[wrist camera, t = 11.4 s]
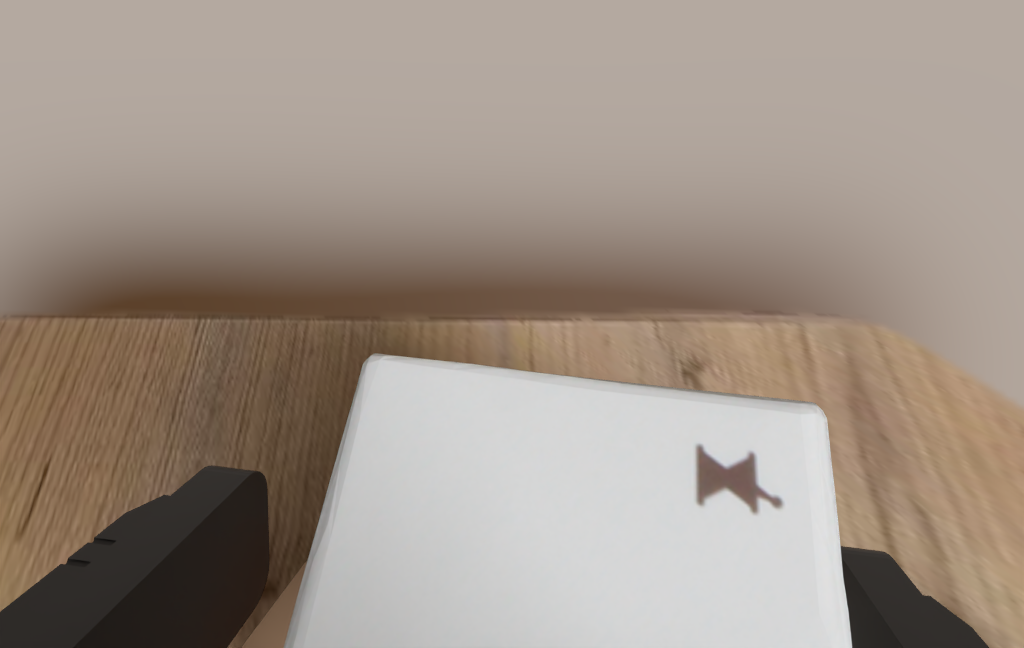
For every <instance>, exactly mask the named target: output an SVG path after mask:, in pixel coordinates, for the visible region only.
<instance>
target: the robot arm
mask: <svg viewBox="0 0 1024 648" xmlns="http://www.w3.org/2000/svg"><path fill="white" fill-rule="evenodd" d="M840 547H841V557H842V569H843V579H844V586H845V592H846V599H847V605H848V612H849V621H850V631H851V641H852V648H989V647H988V646H987V645H986V643H985V642H984V641H983V640H982V639H981V638H980V636H979V635H978V634H977V633H976V632H975V631H974V629H973V628H972V627H970V626H969V625H968V624H966V623H965V622H964V621H962V620H961V619H960V618H958V617H957V616H956V615H954V614H953V613H952V612H950V611H949V610H948V609H946V608H945V607H944V606H943V605H941V604H940V603H939V602H937V601H936V600H935V599H933V598H932V597H931V596H923V595H922V594H921V593H920V591H919V590H918V589H917V588H916V586H915V585H914V584H913V583H912V582H911V580H910V579H909V578H908V577H907V575H906V574H905V573H904V572H903V570H902V569H901V568H900V567H899V565H898V564H897V563H896V562H895V560H894V559H893V558H892V557H891V556H890V555H889V554H887V553H885V552H882V551H875V550H867V549H859V548H851V547H843V546H840ZM268 571H269V531H268V497H267V483H266V479H265V476H264V475H263V474H262V473H261V472H258V471H251V470H243V469H235V468H227V467H219V466H207V467H205V468H204V469H202V470H201V471H200V472H198V473H197V474H196V475H195V476H194V477H192V478H191V479H190V480H189V481H188V482H186V483H185V484H184V485H183V486H182V487H180V488H179V489H178V490H177V491H176V492H174V493H173V494H172V495H171V496H168V495H163V496H161V497H159V498H157V499H155V500H153V501H150V502H148V503H146V504H144V505H142V506H140V507H138V508H135V509H133V510H131V511H129V512H127V513H125V514H124V515H122V516H121V517H120V518H119V519H117V520H116V521H115V522H114V523H112V524H111V525H110V526H108V527H107V528H106V529H105V530H103V531H102V532H101V533H100V534H98V535H97V536H96V537H95V538H94V541H93V543H87V544H86V545H84V546H83V547H82V548H81V549H79V550H78V551H77V552H76V553H74V554H73V555H72V556H70V557H69V558H68V561H67V563H66V564H65V565H64V564H60V565H59V566H58V567H57V568H55V569H54V570H53V571H51V572H50V573H49V574H48V575H46V576H45V577H44V578H43V579H41V580H40V581H39V582H38V583H36V584H35V585H34V586H32V587H31V588H30V589H29V590H27V591H26V592H25V593H24V594H22V595H21V596H20V597H19V598H17V599H16V600H15V601H13V602H12V603H11V604H10V605H8V606H7V607H6V608H5V609H3V610H2V611H1V612H0V648H227V647H228V645H229V644H230V643H231V641H232V640H233V638H234V637H235V636H236V634H237V633H238V631H239V630H240V628H241V627H242V626H243V624H244V623H245V621H246V620H247V619H248V617H249V616H250V614H251V613H252V612H253V610H254V609H255V607H256V605H257V604H258V602H259V600H260V598H261V595H262V593H263V590H264V587H265V584H266V581H267V576H268Z"/></svg>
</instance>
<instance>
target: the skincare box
mask: <svg viewBox="0 0 1024 648" xmlns="http://www.w3.org/2000/svg"><path fill="white" fill-rule="evenodd" d="M284 648H852V641H851V631H850V621H849V612H848V605H847V599H846V592H845V586H844V579H843V569H842V557H841V547H840V537H839V527H838V517H837V507H836V498H835V489H834V480H833V471H832V462H831V453H830V443H829V434H828V425H827V418H826V416H825V414H824V412H823V410H821V409H820V408H819V407H818V406H817V405H816V404H815V403H812V402H805V401H796V400H788V399H779V398H769V397H759V396H749V395H740V394H730V393H720V392H711V391H701V390H691V389H682V388H673V387H664V386H655V385H646V384H636V383H627V382H618V381H609V380H600V379H591V378H581V377H573V376H564V375H555V374H546V373H538V372H529V371H522V370H515V369H508V368H500V367H492V366H484V365H476V364H468V363H458V362H448V361H439V360H430V359H420V358H411V357H402V356H393V355H385V354H377V353H374V354H373V355H371V356H370V357H369V358H367V360H366V361H365V362H364V363H363V366H362V369H361V373H360V377H359V381H358V384H357V388H356V392H355V395H354V398H353V402H352V405H351V409H350V412H349V416H348V419H347V423H346V426H345V429H344V433H343V436H342V440H341V443H340V447H339V451H338V454H337V458H336V461H335V465H334V468H333V472H332V475H331V479H330V482H329V486H328V490H327V493H326V497H325V501H324V504H323V508H322V511H321V515H320V518H319V522H318V525H317V529H316V532H315V536H314V539H313V543H312V546H311V550H310V554H309V557H308V561H307V564H306V568H305V571H304V575H303V578H302V582H301V585H300V589H299V592H298V596H297V599H296V603H295V606H294V610H293V614H292V618H291V622H290V625H289V629H288V633H287V637H286V640H285V644H284Z"/></svg>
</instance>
